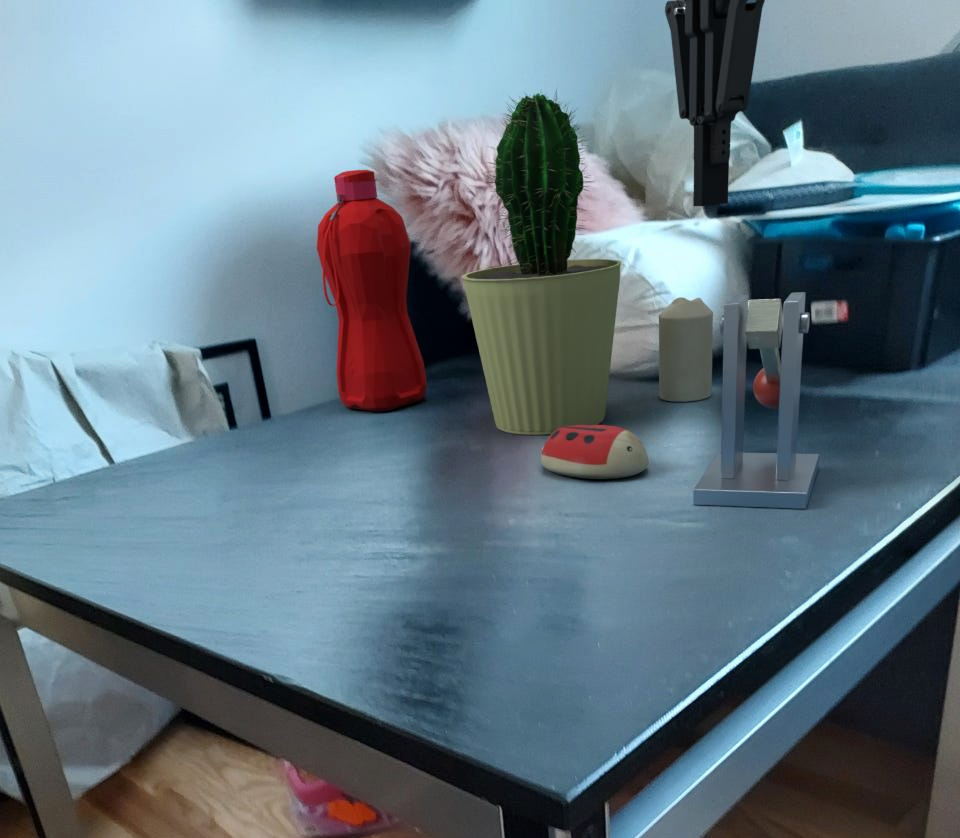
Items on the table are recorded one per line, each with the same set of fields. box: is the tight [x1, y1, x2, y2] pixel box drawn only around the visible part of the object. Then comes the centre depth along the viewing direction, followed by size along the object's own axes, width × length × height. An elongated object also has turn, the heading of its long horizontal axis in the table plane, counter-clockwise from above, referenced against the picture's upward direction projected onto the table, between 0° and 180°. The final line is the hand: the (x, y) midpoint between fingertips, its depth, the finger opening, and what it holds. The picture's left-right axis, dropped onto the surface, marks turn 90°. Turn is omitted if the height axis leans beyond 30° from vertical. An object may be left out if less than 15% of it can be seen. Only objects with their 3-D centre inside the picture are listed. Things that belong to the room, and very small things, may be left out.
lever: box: [745, 298, 784, 410], centre depth 73 cm, size 14×4×4 cm
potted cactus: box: [461, 87, 622, 436], centre depth 92 cm, size 15×15×30 cm
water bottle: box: [316, 169, 428, 413], centre depth 107 cm, size 9×11×25 cm
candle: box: [658, 297, 714, 403], centre depth 100 cm, size 6×6×10 cm
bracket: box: [692, 291, 820, 510], centre depth 70 cm, size 10×8×14 cm
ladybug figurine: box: [540, 424, 650, 480], centre depth 80 cm, size 7×10×4 cm
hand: (710, 204), depth 87 cm, fingers closed
